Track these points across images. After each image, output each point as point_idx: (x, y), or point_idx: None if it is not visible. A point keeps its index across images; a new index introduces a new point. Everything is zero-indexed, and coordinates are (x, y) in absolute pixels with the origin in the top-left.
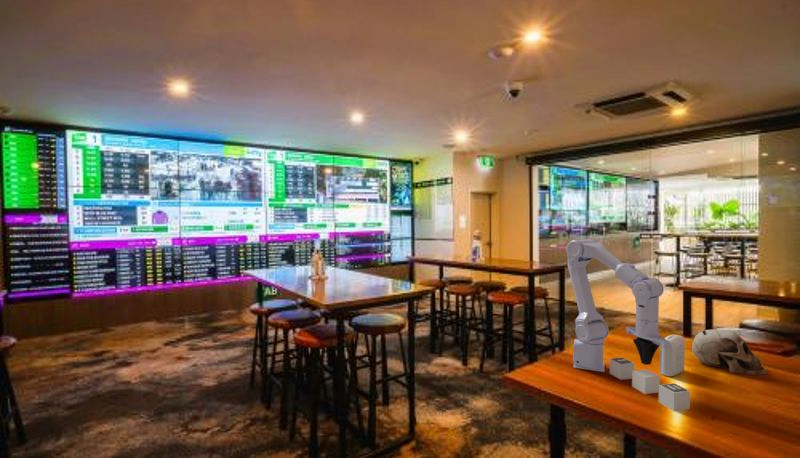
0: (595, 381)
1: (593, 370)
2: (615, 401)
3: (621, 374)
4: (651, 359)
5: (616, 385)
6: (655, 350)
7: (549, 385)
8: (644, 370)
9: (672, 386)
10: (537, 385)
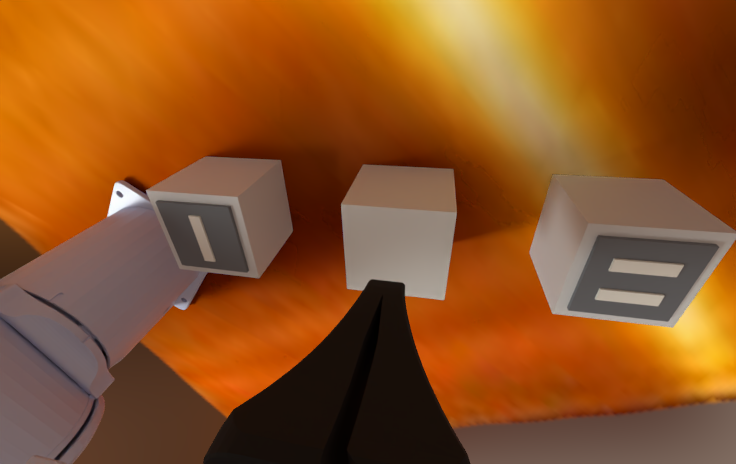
0: (304, 318)
1: None
2: (458, 364)
3: (282, 240)
4: (406, 314)
5: (345, 282)
6: (430, 394)
7: None
8: (353, 229)
9: (621, 281)
10: None
